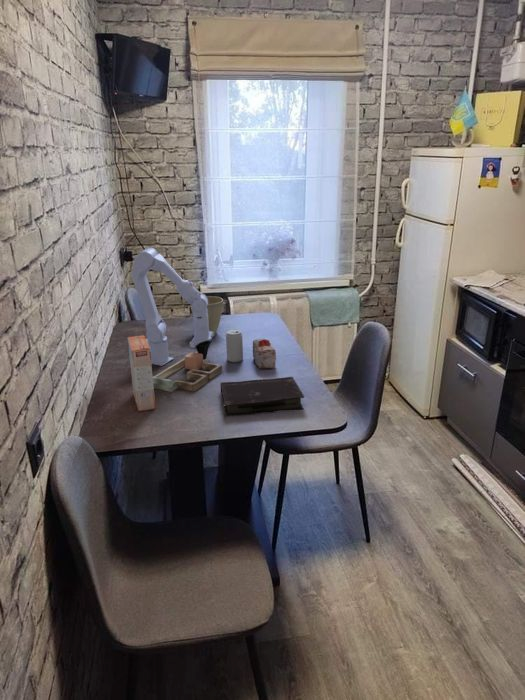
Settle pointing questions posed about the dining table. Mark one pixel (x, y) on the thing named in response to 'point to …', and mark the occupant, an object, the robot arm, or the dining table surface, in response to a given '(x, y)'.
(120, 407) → the dining table surface
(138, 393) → the cracker box
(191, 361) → the block
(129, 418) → the dining table surface
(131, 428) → the dining table surface
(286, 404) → the diary
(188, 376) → the trap lane
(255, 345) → the food item
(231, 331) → the beverage can
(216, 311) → the plant pot
